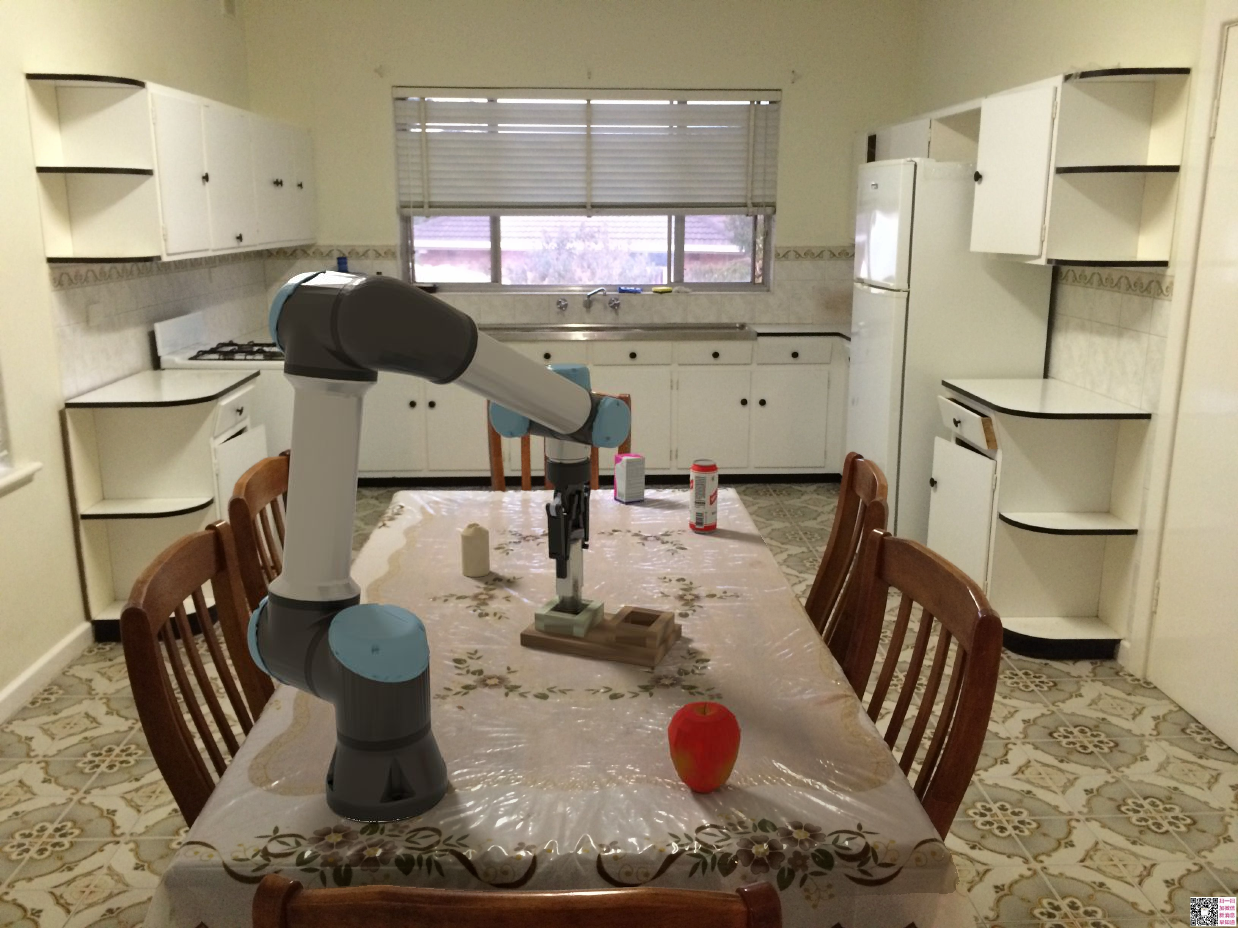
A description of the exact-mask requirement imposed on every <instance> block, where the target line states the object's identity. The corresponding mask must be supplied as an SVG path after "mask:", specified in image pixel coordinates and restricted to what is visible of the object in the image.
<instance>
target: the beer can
mask: <svg viewBox="0 0 1238 928" xmlns="http://www.w3.org/2000/svg"><path fill="white" fill-rule="evenodd" d="M692 463H693V464H692V465H691V468H690V472H689V473H690V474H689V475H690V477H689V512H688V513H689V514H688V515H689V520H688V522H689V523H688V527H689V528H690V530H691V531H692V532H693V533H696V534H703V533H705V534H711V533H713V532H714V531H715V530H716V529H717V527H718V495H719V494H718V492H719V491H718V489H719V488H718V487H719V468H718V466H717V464H716V463H717V461H716V460H713V459H707V458H706V459H705V458H702V459H701V458H700V459H695V460H693V461H692ZM710 532H711V533H710Z"/></svg>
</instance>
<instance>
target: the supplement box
mask: <svg viewBox="0 0 1238 928" xmlns="http://www.w3.org/2000/svg"><path fill="white" fill-rule="evenodd" d="M645 474H646V456H643V455H640V454H637V453H635V452H629V453H622V454H615V455H614V479H613V483H614V484H613V485H614V487H613V488H614V489H613V499H614V500H615V501H617V502H620V503H622V504H624V505H631V504H635V503H642V502H645V481H646V480H645V478H646V475H645Z"/></svg>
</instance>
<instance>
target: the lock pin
mask: <svg viewBox="0 0 1238 928" xmlns="http://www.w3.org/2000/svg"><path fill="white" fill-rule="evenodd" d="M583 537H584V528H583V527H576V526H572V529H571V534H570V541H571V542H570V556H569V558H571V559H572V596H571V597H570V596H563V595H558V605H559V612H561V613H567V614H573V615H578V614H580V613H581V612H582V599H583V597H582V596H583V587H582V567H581V539H582V538H583Z"/></svg>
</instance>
